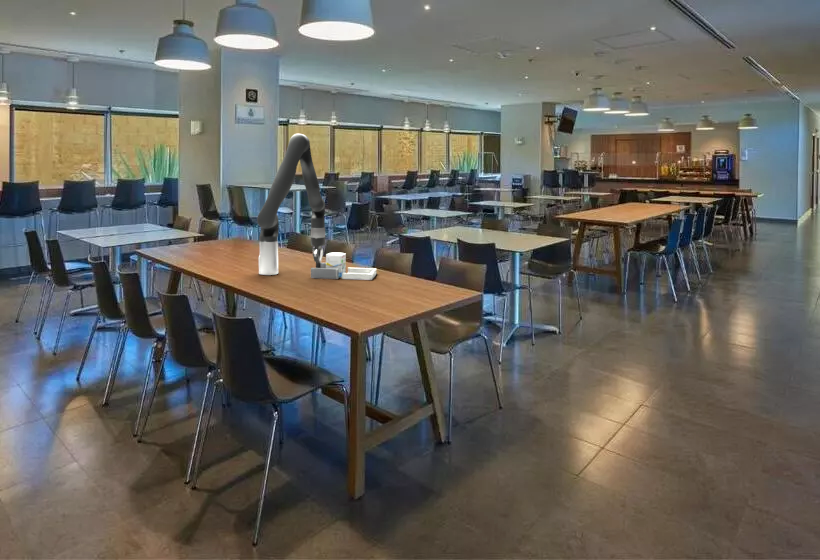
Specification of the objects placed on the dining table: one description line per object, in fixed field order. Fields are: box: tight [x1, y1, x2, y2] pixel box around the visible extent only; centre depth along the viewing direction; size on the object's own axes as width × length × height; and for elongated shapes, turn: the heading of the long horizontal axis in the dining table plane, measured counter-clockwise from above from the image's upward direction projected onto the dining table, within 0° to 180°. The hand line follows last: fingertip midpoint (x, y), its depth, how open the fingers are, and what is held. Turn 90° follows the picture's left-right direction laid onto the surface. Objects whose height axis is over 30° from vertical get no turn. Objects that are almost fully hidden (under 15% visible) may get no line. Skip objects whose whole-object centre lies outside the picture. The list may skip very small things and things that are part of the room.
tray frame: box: [341, 267, 377, 281], centre depth 313 cm, size 15×16×3 cm
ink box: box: [325, 252, 347, 278], centre depth 313 cm, size 8×8×12 cm
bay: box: [310, 262, 340, 280], centre depth 314 cm, size 14×18×5 cm
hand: (318, 269), depth 315 cm, fingers closed
